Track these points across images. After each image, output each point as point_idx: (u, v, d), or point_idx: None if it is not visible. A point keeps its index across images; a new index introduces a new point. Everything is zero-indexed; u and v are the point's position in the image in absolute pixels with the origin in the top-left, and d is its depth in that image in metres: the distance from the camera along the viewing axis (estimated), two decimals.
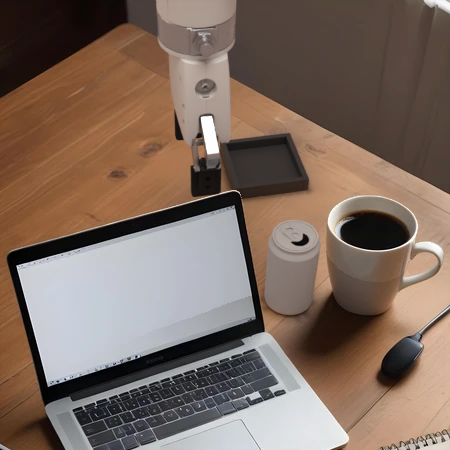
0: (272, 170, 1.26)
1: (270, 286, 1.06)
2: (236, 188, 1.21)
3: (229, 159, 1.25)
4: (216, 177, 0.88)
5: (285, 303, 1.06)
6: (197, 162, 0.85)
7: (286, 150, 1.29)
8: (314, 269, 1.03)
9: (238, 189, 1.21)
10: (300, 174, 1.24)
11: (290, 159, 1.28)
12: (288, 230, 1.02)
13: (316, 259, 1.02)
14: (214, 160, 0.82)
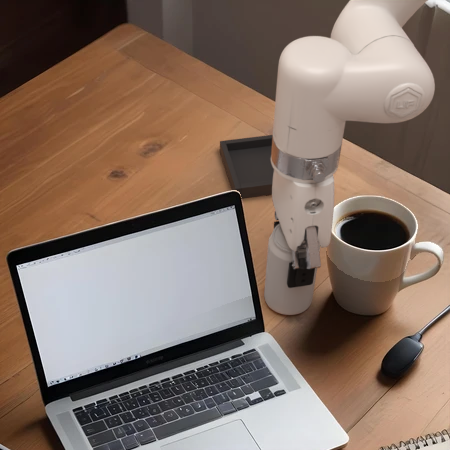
0: (272, 170, 1.26)
1: (270, 286, 1.06)
2: (236, 188, 1.21)
3: (229, 159, 1.25)
4: (310, 272, 1.01)
5: (285, 303, 1.06)
6: (297, 263, 0.98)
7: None
8: None
9: (238, 189, 1.21)
10: None
11: None
12: None
13: None
14: None
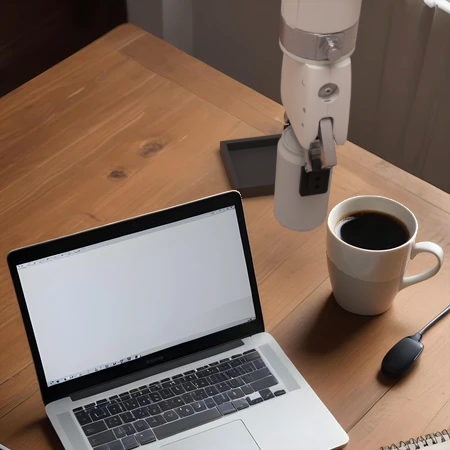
0: (272, 170, 1.26)
1: (280, 198, 0.96)
2: (236, 188, 1.21)
3: (229, 159, 1.25)
4: (325, 177, 0.91)
5: (297, 216, 0.96)
6: (310, 164, 0.88)
7: None
8: None
9: (238, 189, 1.21)
10: None
11: None
12: None
13: None
14: (330, 166, 0.85)
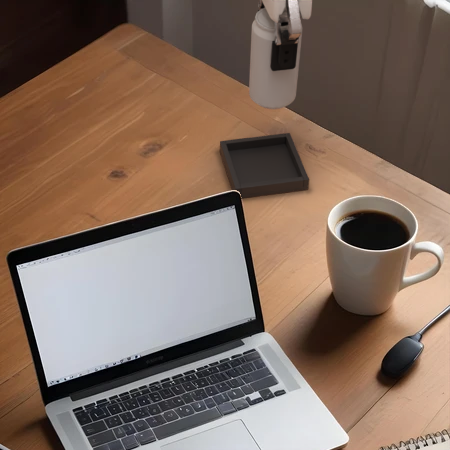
0: (272, 170, 1.26)
1: (254, 75, 1.09)
2: (236, 188, 1.21)
3: (229, 159, 1.25)
4: (293, 52, 1.04)
5: (269, 93, 1.09)
6: (279, 37, 1.01)
7: (286, 150, 1.29)
8: None
9: (238, 189, 1.21)
10: (300, 174, 1.24)
11: (290, 159, 1.28)
12: None
13: None
14: (296, 35, 0.98)
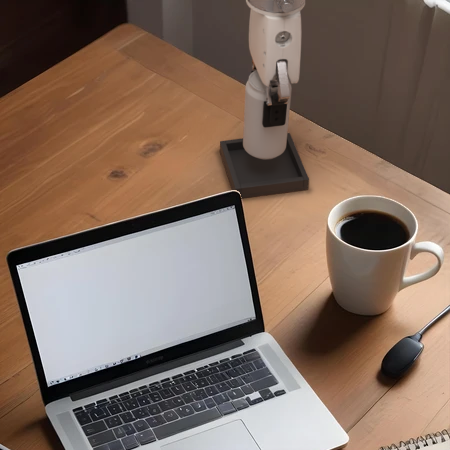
0: (272, 170, 1.26)
1: (247, 130, 1.19)
2: (236, 188, 1.21)
3: (229, 159, 1.25)
4: (282, 111, 1.14)
5: (261, 145, 1.19)
6: (270, 99, 1.11)
7: (286, 150, 1.29)
8: (286, 112, 1.16)
9: (238, 189, 1.21)
10: (300, 174, 1.24)
11: (290, 159, 1.28)
12: None
13: None
14: (285, 99, 1.08)
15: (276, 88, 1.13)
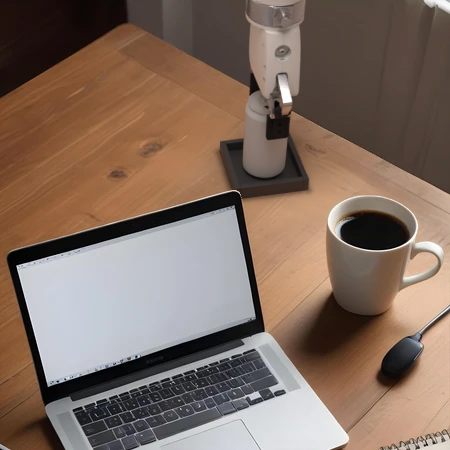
0: None
1: (247, 150, 1.22)
2: (236, 188, 1.21)
3: (229, 159, 1.25)
4: (286, 124, 1.14)
5: (260, 165, 1.22)
6: (273, 111, 1.11)
7: (286, 150, 1.29)
8: None
9: (238, 189, 1.21)
10: (300, 174, 1.24)
11: (290, 159, 1.28)
12: (262, 98, 1.18)
13: None
14: (288, 108, 1.08)
15: None
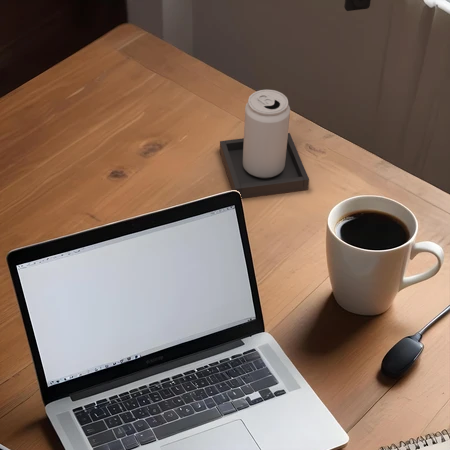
0: None
1: (247, 150, 1.22)
2: (236, 188, 1.21)
3: (229, 159, 1.25)
4: None
5: (260, 165, 1.22)
6: None
7: (286, 150, 1.29)
8: (285, 132, 1.19)
9: (238, 189, 1.21)
10: (300, 174, 1.24)
11: (290, 159, 1.28)
12: (262, 97, 1.18)
13: (286, 122, 1.18)
14: None
15: (275, 110, 1.16)
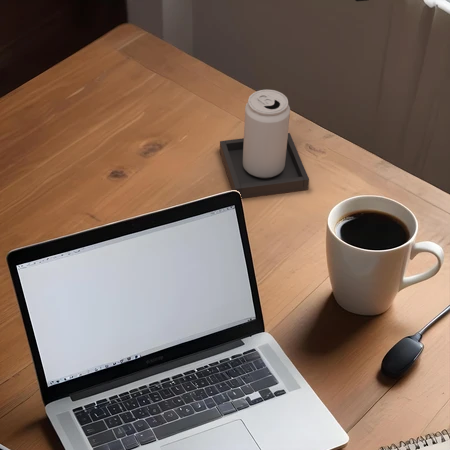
0: None
1: (247, 150, 1.22)
2: (236, 188, 1.21)
3: (229, 159, 1.25)
4: None
5: (260, 165, 1.22)
6: None
7: (286, 150, 1.29)
8: (285, 132, 1.19)
9: (238, 189, 1.21)
10: (300, 174, 1.24)
11: (290, 159, 1.28)
12: (262, 97, 1.18)
13: (286, 122, 1.18)
14: None
15: (275, 110, 1.16)
